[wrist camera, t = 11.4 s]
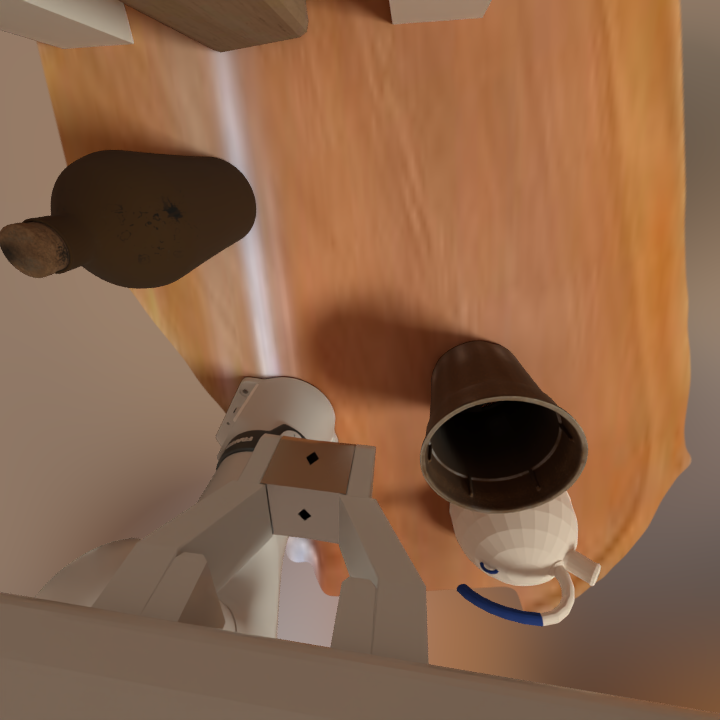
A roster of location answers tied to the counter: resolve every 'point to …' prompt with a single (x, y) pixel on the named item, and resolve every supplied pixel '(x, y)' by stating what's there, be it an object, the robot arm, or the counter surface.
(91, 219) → the olive oil
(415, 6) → the marked block one
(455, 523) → the kettle
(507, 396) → the plant pot
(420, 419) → the counter surface
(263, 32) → the block
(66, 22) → the marked block two
